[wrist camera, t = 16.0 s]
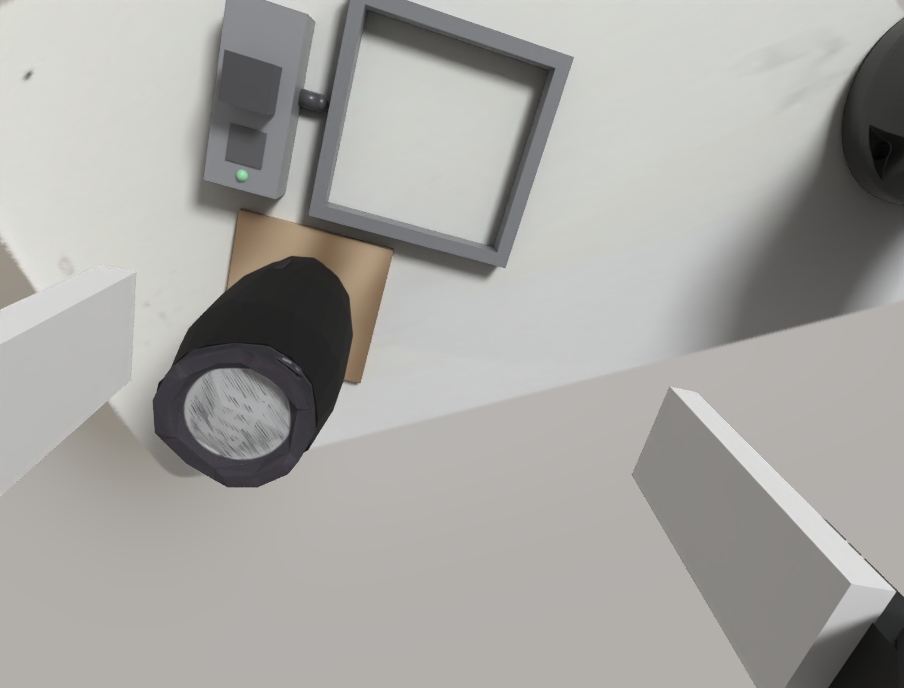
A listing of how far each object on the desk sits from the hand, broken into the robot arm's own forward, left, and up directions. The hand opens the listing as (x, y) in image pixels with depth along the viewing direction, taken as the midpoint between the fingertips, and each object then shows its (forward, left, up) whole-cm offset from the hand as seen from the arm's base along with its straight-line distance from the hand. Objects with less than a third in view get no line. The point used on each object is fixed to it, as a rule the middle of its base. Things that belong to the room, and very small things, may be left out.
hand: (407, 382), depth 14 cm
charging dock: (+1, -5, -33) cm, 33 cm away
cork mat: (+6, +10, -33) cm, 35 cm away
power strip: (+12, -4, -33) cm, 35 cm away
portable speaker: (+6, +10, -32) cm, 34 cm away
